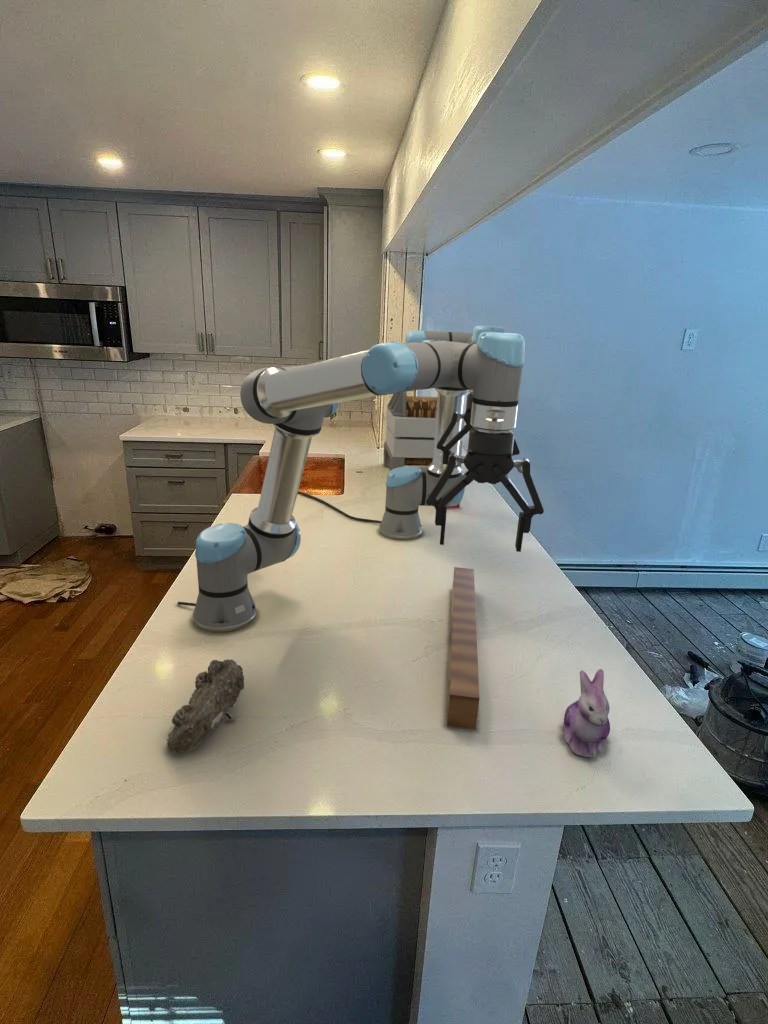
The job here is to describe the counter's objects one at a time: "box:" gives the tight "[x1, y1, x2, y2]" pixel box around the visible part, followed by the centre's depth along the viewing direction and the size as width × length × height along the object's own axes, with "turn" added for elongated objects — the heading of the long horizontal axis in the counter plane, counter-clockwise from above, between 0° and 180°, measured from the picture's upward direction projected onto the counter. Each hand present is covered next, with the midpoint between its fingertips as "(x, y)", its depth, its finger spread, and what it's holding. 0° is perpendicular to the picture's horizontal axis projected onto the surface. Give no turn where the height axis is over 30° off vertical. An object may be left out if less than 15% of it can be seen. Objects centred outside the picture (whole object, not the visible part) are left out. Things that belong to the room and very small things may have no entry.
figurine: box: [562, 668, 611, 758], centre depth 104 cm, size 9×10×15 cm
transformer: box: [383, 392, 465, 471], centre depth 268 cm, size 34×33×41 cm
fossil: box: [166, 658, 245, 754], centre depth 106 cm, size 22×10×15 cm
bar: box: [446, 566, 481, 731], centre depth 133 cm, size 56×6×7 cm, turn 173°
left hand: (479, 545), depth 102 cm, fingers open, 13 cm apart
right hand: (474, 479), depth 143 cm, fingers open, 13 cm apart
